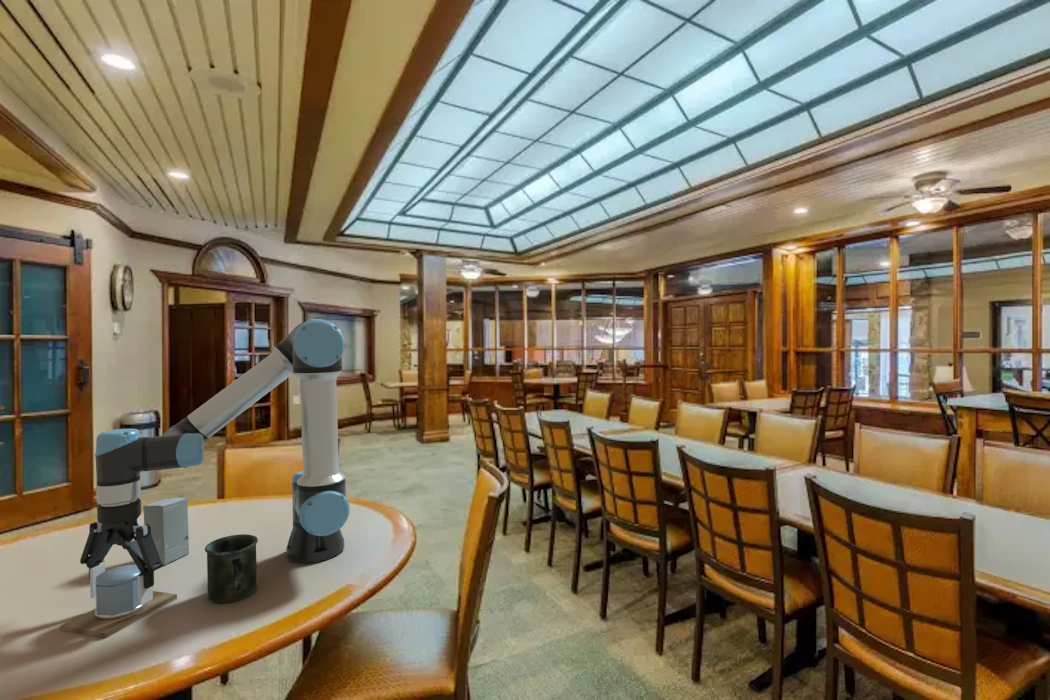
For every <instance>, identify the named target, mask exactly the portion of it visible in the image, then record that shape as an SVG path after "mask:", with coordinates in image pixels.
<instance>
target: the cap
mask: <svg viewBox="0 0 1050 700" xmlns="http://www.w3.org/2000/svg"><path fill="white" fill-rule="evenodd" d="M140 573H141V572H140V570H139V569H138V567H137V566H136V564H128V565H127V564H126V565H121V566H117V567H114V568H110V569H108V570H107V569H106V570H105V572H103V573H101V574H100V575H98V576H97V577H96V598H95V608H96V611H97V615H116V614H120V613H123V612H127V611H130V610H134V609H135V608H137V607H138V606H140V605H138V574H140Z"/></svg>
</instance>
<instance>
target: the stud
mask: <svg viewBox="0 0 1050 700" xmlns="http://www.w3.org/2000/svg"><path fill="white" fill-rule="evenodd" d="M146 605H147V602H146V603H145V604H143V605H140V606H138V607H137V608H135V609H134V610H130V611H127V612H123V613H120V614H116V615H97V611H96V610H95V618H96V619H98V620H114V619H119V618H123V617H126V616H129V615H132V614H134V613H136V612H138V611H140V610H142V609H143V608H144V607H145V606H146Z"/></svg>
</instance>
